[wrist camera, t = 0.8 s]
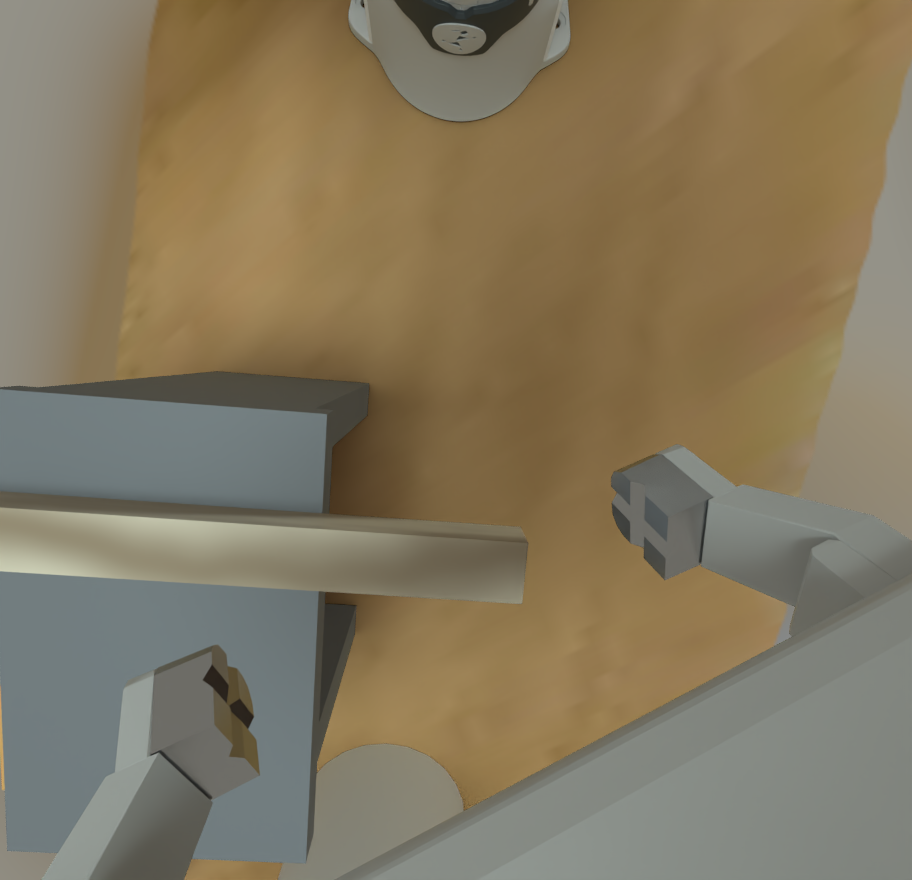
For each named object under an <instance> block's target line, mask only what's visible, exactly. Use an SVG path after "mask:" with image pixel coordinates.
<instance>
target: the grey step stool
mask: <svg viewBox="0 0 912 880" xmlns="http://www.w3.org/2000/svg"><path fill="white" fill-rule="evenodd" d="M368 396H369V383H358V382H346V381H333V380H320V379H307V378H295V377H282V376H269V375H256V374H244V373H231V372H218V371H216V372H205V373H194V374H183V375H172V376H160V377H149V378H138V379H127V380H116V381H105V382H95V383H84V384H72V385H61V386H49V387H26V386H11V387H0V491H4V492H18V493H33V494H48V495H62V496H77V497H91V498H106V499H121V500H135V501H150V502H164V503H179V504H194V505H208V506H223V507H237V508H252V509H266V510H281V511H296V512H310V513H325V514H329V508H330V488H331V467H332V447H333V446H334V445H335V444H336V443H337V442H338V441H339V440H341V439H342V438H343V437H344V436H345V435H346V434H347V433H348V432H349V431H351V430H352V429H353V428H354V427H355V426H356V425H357V424H358V423H359V422H360V421H362V420H363V419H364V418H365V417H366V416H367V413H368ZM355 622H356V606H354V605H338V604H325V592H323V591H307V590H291V589H275V588H259V587H243V586H227V585H211V584H195V583H179V582H163V581H147V580H131V579H115V578H99V577H83V576H67V575H51V574H35V573H19V572H3V571H0V756H1V778H2V779H1V780H2V790H5V806H6V830H7V851H21V852H22V851H23V852H45V853H58V852H59V851H60V849H61V847H62V846H63V844H64V843H65V841H66V839H67V838H68V836H69V835H70V833H71V831H72V830H73V828H74V827H75V825H76V823H77V822H78V820H79V819H80V817H81V815H82V814H83V812H84V811H85V809H86V807H87V806H88V804H89V803H90V801H91V799H92V798H93V796H94V795H95V793H96V791H97V790H98V788H99V787H100V785H101V783H102V782H103V780H104V779H105V777H106V776H108V775H110V774H112V773H114V772H115V765H116V755H117V746H118V736H119V726H120V717H121V707H122V697H123V690H124V687H125V685H126V683H127V681H128V680H130V679H132V678H135V677H137V676H139V675H142V674H144V673H147V672H149V671H152V670H154V669H157V668H158V667H160V666H163V665H165V664H168V663H170V662H173V661H175V660H178V659H180V658H183V657H185V656H188V655H190V654H193V653H195V652H198V651H200V650H202V649H205V648H207V647H210V646H212V645H217V644H218V645H219V646H220V647H221V648H222V650H223V651H224V652H225V653H226V654H227V666H230V667H234V668H237V669H238V670H239V672H240V673H241V674H242V676H243V678H244V680H245V682H246V684H247V686H248V689H249V692H250V696H251V699H252V704H253V712H254V718H253V720H252V722H251V724H250V726H249V728H248V730H249V731H250V732H251V734H252V735H253V736H254V737H255V739H256V740H257V750H258V760H259V770H260V776H258V777H256V778H254V779H252V780H250V781H248V782H246V783H244V784H242V785H240V786H239V787H237V788H235V789H233V790H231V791H229V792H227V793H225V794H223V795H221V796H219V797H217V798H215V799H213V800H211V801H212V802H213V804H212V807H211V810H210V812H209V815H208V817H207V820H206V823H205V825H204V828H203V831H202V833H201V836H200V838H199V841H198V844H197V846H196V849H195V851H194V854H193V857H192V859H209V860H233V861H256V862H280V863H304V864H306V861H307V857H308V853H309V849H310V846H311V842H312V838H313V834H314V815H315V795H316V774H317V761H318V758H319V754H320V751H321V747H322V744H323V741H324V737H325V734H326V730H327V727H328V724H329V720H330V717H331V713H332V710H333V707H334V703H335V700H336V696H337V693H338V689H339V686H340V683H341V679H342V676H343V672H344V669H345V666H346V662H347V659H348V655H349V652H350V649H351V645H352V642H353V638H354V635H355Z"/></svg>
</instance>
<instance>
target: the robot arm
mask: <svg viewBox="0 0 912 880" xmlns="http://www.w3.org/2000/svg"><path fill="white" fill-rule="evenodd" d="M363 3H364V6H365V8H363V7H362V4H363ZM348 19H349V27H350V29H351V31H352V33H353V34H354V35H355V36H356V38H357V39H358V40H360V41H361V42H362V43H363V44H364V45H365V46H366V47H368V48H369V49H370V50H371V51H372V52H374V53H375V55H376V56H377V58H378V59H379V61H380V63H381V65H382V67H383V68H384V70H385V72H386V74H387V76H388V78H389V79H390V81H391V83H392V84H393V85H394V87H395V88H396V89H397V91H398V92H399V93H400V94H401V95H402V96H403V97H404V98H405V99H406V100H407V101H408V102H409V103H411V104H412V105H413V106H415V107H416V108H418V109H419V110H421V111H423V112H425V113H427V114H429V115H431V116H434V117H437V118H440V119H444V120H450V121H472V120H478V119H482V118H485V117H488V116H490V115H493V114H495V113H497V112H499V111H500V110H502V109H504V108H505V107H507V106H508V105H509V104H511V103H512V102H513V101H514V100H515V99H516V98H517V97H518V96H519V95H520V94H521V93H522V92H523V91H524V89H525V88H526V87H527V85H528V84H529V83H530V81H531V80H532V78H533V77H534V76H535V75H536V74H537V73H538V72H539V71H540V70H541V69H543V68H545V67H547V66H548V65H550V64H552V63H554V62H555V61H557V60H558V59H560V58H561V57H562V56H563V55H564V54H565V53H566V52H567V50H568V47H569V43H570V22H569V9H568V0H351V4H350V8H349V13H348ZM556 24H558V26H559V28H557V29H555V28H556ZM611 487H612V488H613V489H614V490H615V491H616V492H617V494H616V496H615V498H614V500H613V501H612V511H613V516H614V519H615V521H616V524H617V526H618V528H619V530H620V531H621V533H622V534H623V536H624V537H625V538H626V539H627V540H628V541H629V542H630V543H631V544H634V545H637V546H640V547H644V559H645V560H646V561H647V562H648V563H649V564H650V565H651V566H652V567H653V568H654V569H655V570H656V571H657V572H658V574H659V575H660V576H661V577H662V578H663V579H664V580H667V579H669V578H671V577H673V576H675V575H678V574H680V573H682V572H684V571H687V570H689V569H691V568H693V567H696V566H698V565H700V564H701V566H702V567H704V568H706V569H708V570H711V571H713V572H715V573H718V574H720V575H722V576H725V577H727V578H729V579H732V580H734V581H736V582H739V583H741V584H743V585H746V586H748V587H750V588H752V589H755V590H757V591H759V592H762V593H764V594H766V595H769V596H771V597H773V598H776V599H778V600H780V601H783V602H785V603H787V604H790V605H792V606H794V607H795V610H794V613H793V616H792V620H791V623H790V630H789V634H790V635H791V636H792V637H791V638H789V639H787V640H785V641H783V642H781V643H779V644H777V645H775V646H774V647H772V648H770V649H768V650H766V651H764V652H762V653H760V654H758V655H757V656H755V657H753V658H751V659H749V660H747V661H745V662H743V663H742V664H740V665H738V666H736V667H734V668H732V669H730V670H728V671H726V672H725V673H723V674H721V675H719V676H717V677H715V678H713V679H711V680H709V681H708V682H706V683H704V684H702V685H700V686H698V687H696V688H694V689H692V690H691V691H689V692H687V693H685V694H683V695H681V696H679V697H677V698H675V699H674V700H672V701H670V702H668V703H666V704H664V705H662V706H660V707H659V708H657V709H655V710H653V711H651V712H649V713H647V714H645V715H643V716H642V717H640V718H638V719H636V720H634V721H632V722H630V723H628V724H626V725H625V726H623V727H621V728H619V729H617V730H615V731H613V732H611V733H609V734H608V735H606V736H604V737H602V738H600V739H598V740H596V741H594V742H593V743H591V744H589V745H587V746H585V747H583V748H581V749H579V750H577V751H576V752H574V753H572V754H570V755H568V756H566V757H564V758H562V759H560V760H559V761H557V762H555V763H553V764H551V765H549V766H547V767H545V768H544V769H542V770H540V771H538V772H536V773H534V774H532V775H530V776H528V777H527V778H525V779H523V780H521V781H519V782H517V783H515V784H513V785H512V786H510V787H508V788H506V789H504V790H502V791H500V792H498V793H496V794H495V795H493V796H491V797H489V798H487V799H485V800H483V801H481V802H480V803H478V804H476V805H474V806H472V807H470V808H468V809H466V810H464V811H463V812H461V813H459V814H457V815H455V816H453V817H451V818H449V819H448V820H446V821H444V822H442V823H440V824H438V825H436V826H434V827H433V828H431V829H429V830H427V831H425V832H423V833H421V834H419V835H417V836H416V837H414V838H412V839H410V840H408V841H406V842H404V843H402V844H401V845H399V846H397V847H395V848H393V849H391V850H389V851H387V852H385V853H384V854H382V855H380V856H378V857H376V858H374V859H372V860H370V861H369V862H367V863H365V864H363V865H361V866H359V867H357V868H355V869H353V870H352V871H350V872H348V873H346V874H344V875H342V876H340V877H338V878H337V879H335V880H912V541H911V540H910V539H908V538H907V537H905V536H904V535H902V534H901V533H899V532H898V531H896V530H895V529H893V528H892V527H890V526H889V525H887V524H886V523H884V522H883V521H881V520H880V519H878V518H877V517H875V516H873V515H870V514H865V513H861V512H857V511H852V510H848V509H844V508H840V507H835V506H831V505H827V504H823V503H819V502H814V501H810V500H806V499H802V498H798V497H794V496H789V495H785V494H781V493H777V492H773V491H768V490H764V489H760V488H756V487H751V486H747V485H741V486H738V487H736V486H735V485H734V484H732V483H731V482H730V481H728V480H727V479H726V478H724V477H723V476H722V475H720V474H719V473H718V472H717V471H715V470H714V469H713V468H711V467H710V466H709V465H707V464H706V463H705V462H703V461H702V460H701V459H700V458H698V457H697V456H696V455H694V454H693V453H692V452H690V451H689V450H688V449H686V448H685V447H684V446H682V445H678V444H676V445H674V446H672V447H669V448H667V449H665V450H662V451H660V452H658V453H656V454H653V455H651V456H648V457H646V458H644V459H642V460H639V461H637V462H635V463H633V464H630V465H628V466H626V467H624V468H621V469H619V470H617V471H615V472H614V473H613V475H612V477H611ZM253 718H254V712H253V704H252V699H251V696H250V692H249V689H248V686H247V684H246V682H245V680H244V678H243V676H242V674H241V673H240V672H239V670H238V669H237V668H234V667H230V666H227V654H226V653H225V652H224V651H223V650H222V648H221V647H220V646H219V645H218V644H217V645H212V646H210V647H207V648H205V649H202V650H200V651H198V652H195V653H193V654H190V655H188V656H185V657H183V658H180V659H178V660H175V661H173V662H170V663H168V664H165V665H163V666H160V667H158V668H157V669H154V670H152V671H149V672H147V673H144V674H142V675H139V676H137V677H135V678H132V679H130V680H128V681H127V683H126V685H125V687H124V690H123V697H122V707H121V717H120V726H119V736H118V746H117V755H116V765H115V772H114V773H112V774H110V775H108V776H106V777H105V779H104V780H103V782H102V783H101V785H100V787H99V788H98V790H97V791H96V793H95V795H94V796H93V798H92V799H91V801H90V803H89V804H88V806H87V807H86V809H85V811H84V812H83V814H82V815H81V817H80V819H79V820H78V822H77V823H76V825H75V827H74V828H73V830H72V831H71V833H70V835H69V836H68V838H67V839H66V841H65V843H64V844H63V846H62V847H61V849H60V851H59V852H58V854H57V855H56V857H55V859H54V860H53V862H52V863H51V865H50V867H49V868H48V870H47V871H46V873H45V875H44V876H43V878H42V880H184V878H185V875H186V872H187V870H188V867H189V865H190V862H191V859H192V857H193V854H194V851H195V849H196V846H197V844H198V841H199V838H200V836H201V833H202V831H203V828H204V825H205V823H206V820H207V817H208V815H209V812H210V810H211V807H212V804H213V802H212V801H211V800H213V799H215V798H217V797H219V796H221V795H223V794H225V793H227V792H229V791H231V790H233V789H235V788H237V787H239V786H240V785H242V784H244V783H246V782H248V781H250V780H252V779H254V778H256V777H258V776H260V770H259V760H258V750H257V740H256V739H255V737H254V736H253V735H252V734H251V732H250V731H249V730H248V728H249V726H250V724H251V722H252V720H253Z"/></svg>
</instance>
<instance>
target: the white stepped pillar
mask: <svg viewBox="0 0 912 880" xmlns="http://www.w3.org/2000/svg"><path fill="white" fill-rule="evenodd" d="M461 812H463V801H462V798H461V796H460V793H459V790H458V788H457V785H456V783H455V782H454V781H453V779H452V778H451V777H450V775H449V774H448V773H447V771H446V770H445V769H444V768H443V767H442V766H441V765H440V764H438V763H437V762H436V761H434V760H433V759H432V758H430V757H429V756H428V755H426V754H423V753H421V752H419V751H416V750H414V749H412V748H409V747H405V746H399V745H392V744H375V745H364V746H361V747H358V748H355V749H352V750H349V751H346V752H343V753H342V754H340V755H339V756H337V757H335V758H334V759H332V760H331V761H329V762H327V763H326V764H325V765H324V766H323V767H322V768H321V769H320V770H319V772H318V773H317V774H316V795H315V815H314V834H313V838H312V842H311V846H310V849H309V853H308V857H307V861H306V864H304V863H283V864H282V868H281V871H280V874H279V878H278V880H335V879H337V878H338V877H340V876H342V875H344V874H346V873H348V872H350V871H352V870H353V869H355V868H357V867H359V866H361V865H363V864H365V863H367V862H369V861H370V860H372V859H374V858H376V857H378V856H380V855H382V854H384V853H385V852H387V851H389V850H391V849H393V848H395V847H397V846H399V845H401V844H402V843H404V842H406V841H408V840H410V839H412V838H414V837H416V836H417V835H419V834H421V833H423V832H425V831H427V830H429V829H431V828H433V827H434V826H436V825H438V824H440V823H442V822H444V821H446V820H448V819H449V818H451V817H453V816H455V815H457V814H459V813H461Z"/></svg>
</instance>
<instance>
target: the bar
mask: <svg viewBox="0 0 912 880" xmlns="http://www.w3.org/2000/svg"><path fill="white" fill-rule="evenodd" d="M527 550H528V542H527V539H526V537H525V535H524V533H523V531H522V529H521V527H515V526H500V525H485V524H471V523H456V522H442V521H427V520H412V519H398V518H383V517H369V516H354V515H340V514H325V513H310V512H296V511H281V510H266V509H252V508H237V507H223V506H208V505H194V504H179V503H164V502H150V501H135V500H121V499H106V498H91V497H77V496H62V495H48V494H33V493H18V492H4V491H0V571H3V572H19V573H35V574H51V575H67V576H83V577H99V578H115V579H131V580H147V581H163V582H179V583H195V584H211V585H227V586H243V587H259V588H275V589H291V590H307V591H323V592H338V593H354V594H370V595H386V596H402V597H418V598H434V599H450V600H466V601H482V602H498V603H514V604H522V599H523V589H524V579H525V570H526V560H527Z"/></svg>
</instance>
